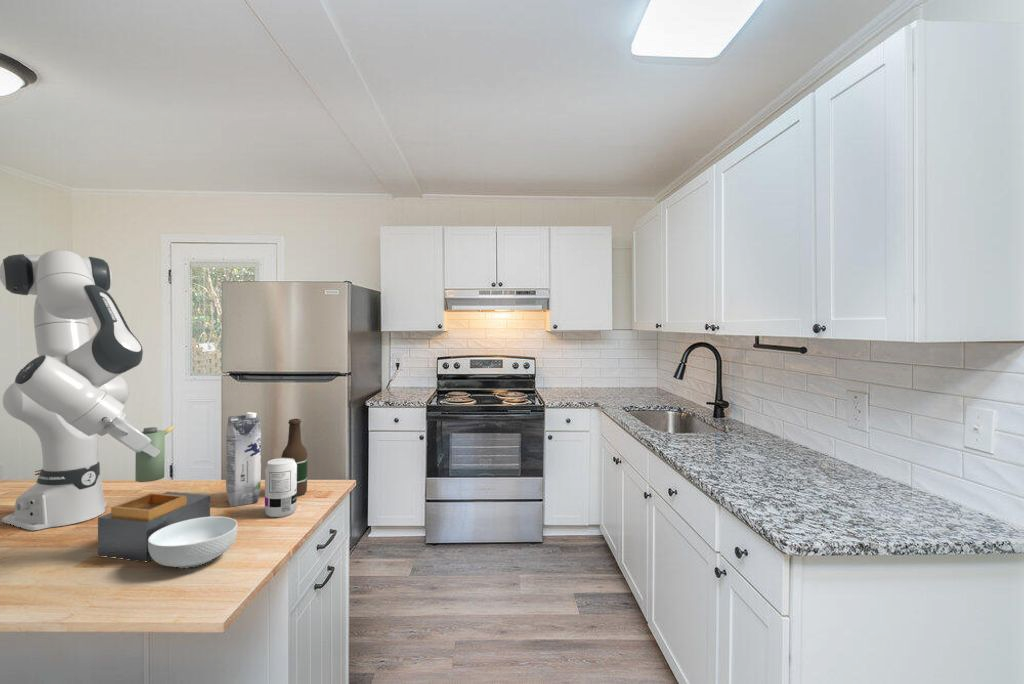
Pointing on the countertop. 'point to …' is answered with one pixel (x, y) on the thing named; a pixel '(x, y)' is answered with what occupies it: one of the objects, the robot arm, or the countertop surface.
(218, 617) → the countertop surface
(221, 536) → the cereal bowl
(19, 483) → the countertop surface
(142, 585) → the countertop surface
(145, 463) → the oil can
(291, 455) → the beer bottle
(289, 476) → the supplement can
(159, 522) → the box
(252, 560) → the countertop surface
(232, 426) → the juice carton
